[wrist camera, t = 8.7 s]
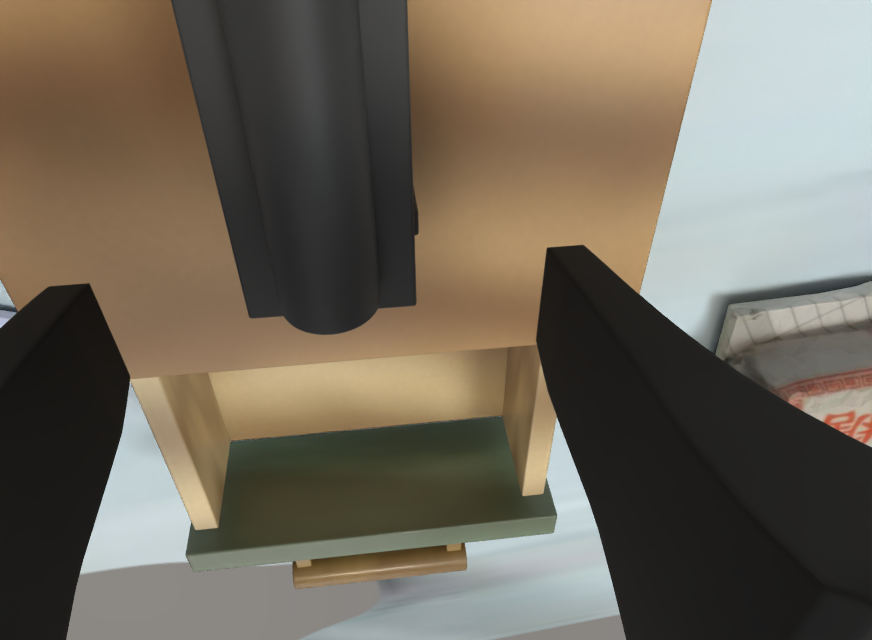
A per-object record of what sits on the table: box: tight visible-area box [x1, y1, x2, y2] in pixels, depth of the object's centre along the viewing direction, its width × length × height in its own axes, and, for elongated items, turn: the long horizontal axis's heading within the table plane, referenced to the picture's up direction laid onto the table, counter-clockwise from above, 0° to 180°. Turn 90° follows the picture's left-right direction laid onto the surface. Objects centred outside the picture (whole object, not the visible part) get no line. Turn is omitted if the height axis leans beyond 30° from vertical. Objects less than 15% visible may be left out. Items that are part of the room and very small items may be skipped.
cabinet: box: [0, 0, 712, 379], centre depth 15 cm, size 13×14×7 cm
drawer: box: [130, 345, 557, 589], centre depth 24 cm, size 16×13×5 cm
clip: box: [171, 0, 419, 335], centre depth 10 cm, size 6×3×5 cm, turn 0°
